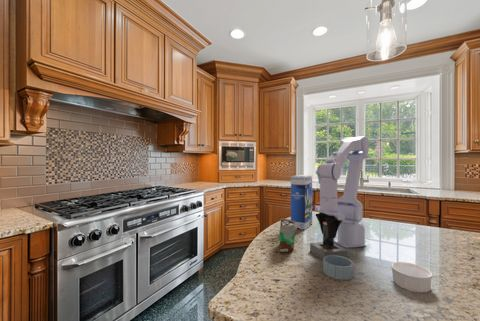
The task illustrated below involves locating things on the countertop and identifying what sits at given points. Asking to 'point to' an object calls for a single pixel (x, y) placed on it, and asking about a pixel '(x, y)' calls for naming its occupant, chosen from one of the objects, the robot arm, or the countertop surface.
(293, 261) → the countertop surface
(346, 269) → the grey round bowl
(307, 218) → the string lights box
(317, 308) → the countertop surface
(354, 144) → the robot arm
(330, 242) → the battery cell
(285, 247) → the food container
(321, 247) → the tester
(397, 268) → the ramekin
